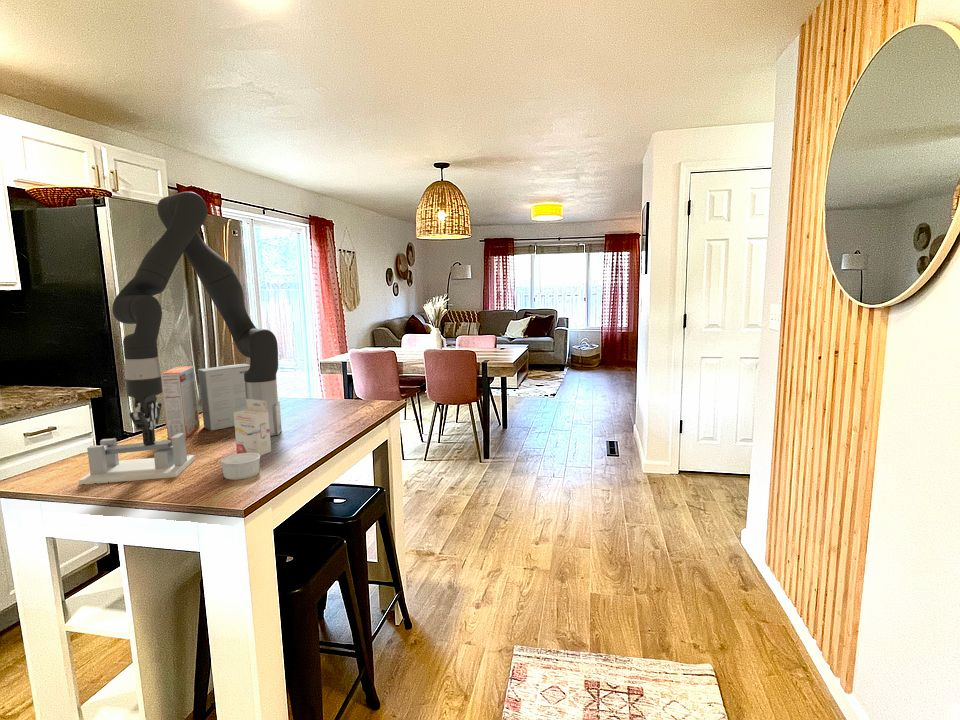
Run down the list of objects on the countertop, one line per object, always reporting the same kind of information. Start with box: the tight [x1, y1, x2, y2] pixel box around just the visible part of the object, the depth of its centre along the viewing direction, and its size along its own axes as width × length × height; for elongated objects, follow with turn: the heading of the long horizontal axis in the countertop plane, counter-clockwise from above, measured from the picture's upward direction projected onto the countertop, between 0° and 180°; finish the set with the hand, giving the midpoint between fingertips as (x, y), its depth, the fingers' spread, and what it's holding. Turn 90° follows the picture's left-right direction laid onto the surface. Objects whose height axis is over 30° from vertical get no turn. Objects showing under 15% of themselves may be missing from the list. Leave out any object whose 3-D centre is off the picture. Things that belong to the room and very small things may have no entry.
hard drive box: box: [197, 363, 250, 432], centre depth 177 cm, size 16×8×20 cm, turn 133°
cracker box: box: [161, 365, 201, 440], centre depth 167 cm, size 14×6×21 cm, turn 13°
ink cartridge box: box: [234, 399, 272, 457], centre depth 145 cm, size 9×5×15 cm, turn 65°
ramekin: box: [220, 453, 261, 481], centre depth 129 cm, size 9×9×4 cm
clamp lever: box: [104, 439, 173, 455], centre depth 132 cm, size 17×4×2 cm, turn 101°
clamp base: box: [78, 433, 196, 486], centre depth 132 cm, size 21×14×9 cm, turn 101°
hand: (149, 443), depth 132 cm, fingers closed
